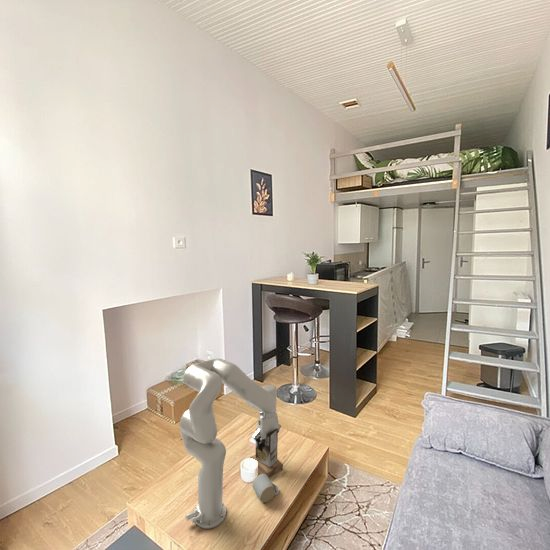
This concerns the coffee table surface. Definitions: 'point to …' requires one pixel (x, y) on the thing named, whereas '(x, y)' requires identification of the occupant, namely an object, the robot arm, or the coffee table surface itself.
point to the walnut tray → (269, 468)
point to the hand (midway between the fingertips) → (266, 446)
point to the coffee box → (268, 449)
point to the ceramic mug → (264, 488)
